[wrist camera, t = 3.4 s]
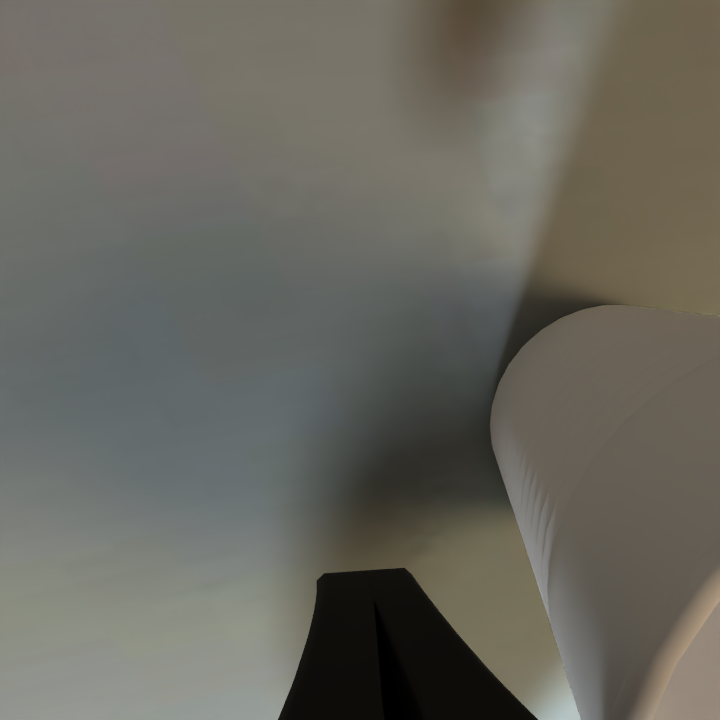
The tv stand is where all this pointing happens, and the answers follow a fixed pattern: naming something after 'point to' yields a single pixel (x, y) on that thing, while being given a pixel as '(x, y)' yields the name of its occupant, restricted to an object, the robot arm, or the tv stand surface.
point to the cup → (622, 503)
